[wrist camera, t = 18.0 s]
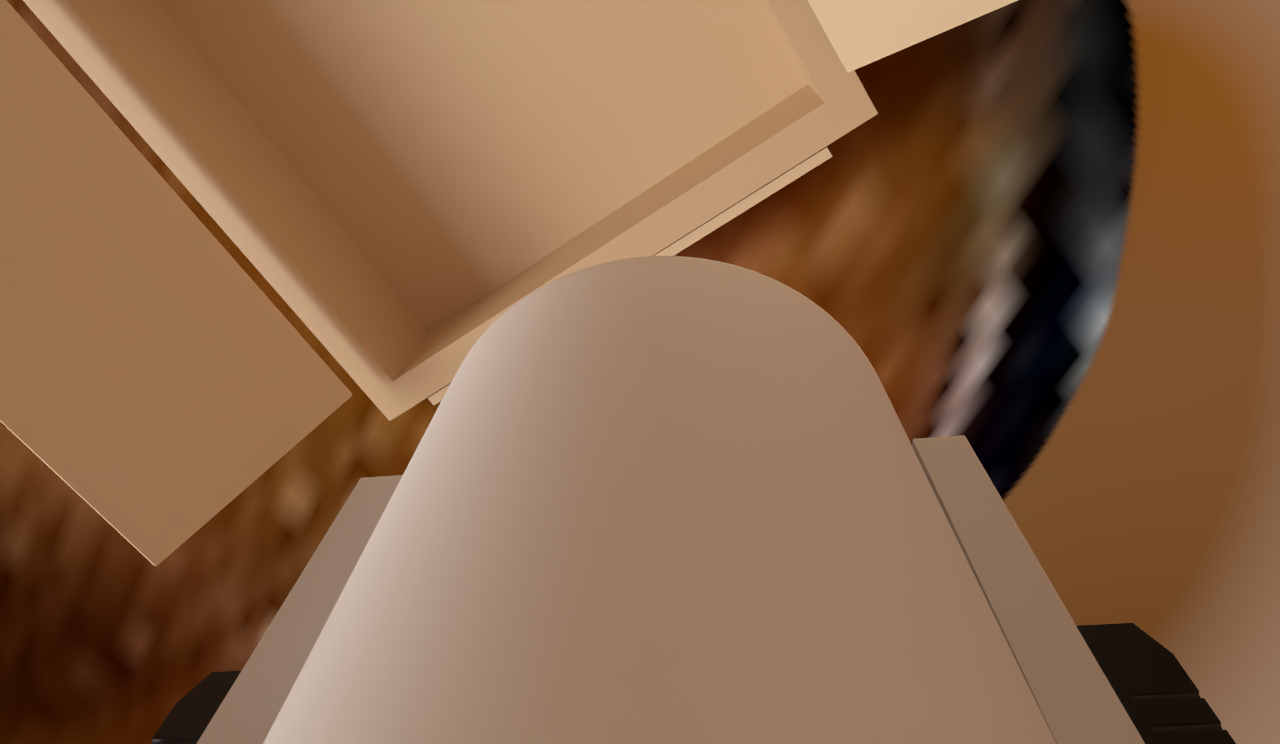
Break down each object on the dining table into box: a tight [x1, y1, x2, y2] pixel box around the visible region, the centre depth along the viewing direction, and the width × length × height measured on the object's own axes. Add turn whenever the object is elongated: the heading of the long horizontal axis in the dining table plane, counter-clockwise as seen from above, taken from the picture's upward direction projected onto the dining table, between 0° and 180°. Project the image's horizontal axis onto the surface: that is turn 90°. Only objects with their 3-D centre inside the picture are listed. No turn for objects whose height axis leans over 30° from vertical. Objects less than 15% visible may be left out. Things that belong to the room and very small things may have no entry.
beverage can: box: [263, 256, 1056, 744], centre depth 11 cm, size 8×8×12 cm
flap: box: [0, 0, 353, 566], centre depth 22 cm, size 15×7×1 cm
